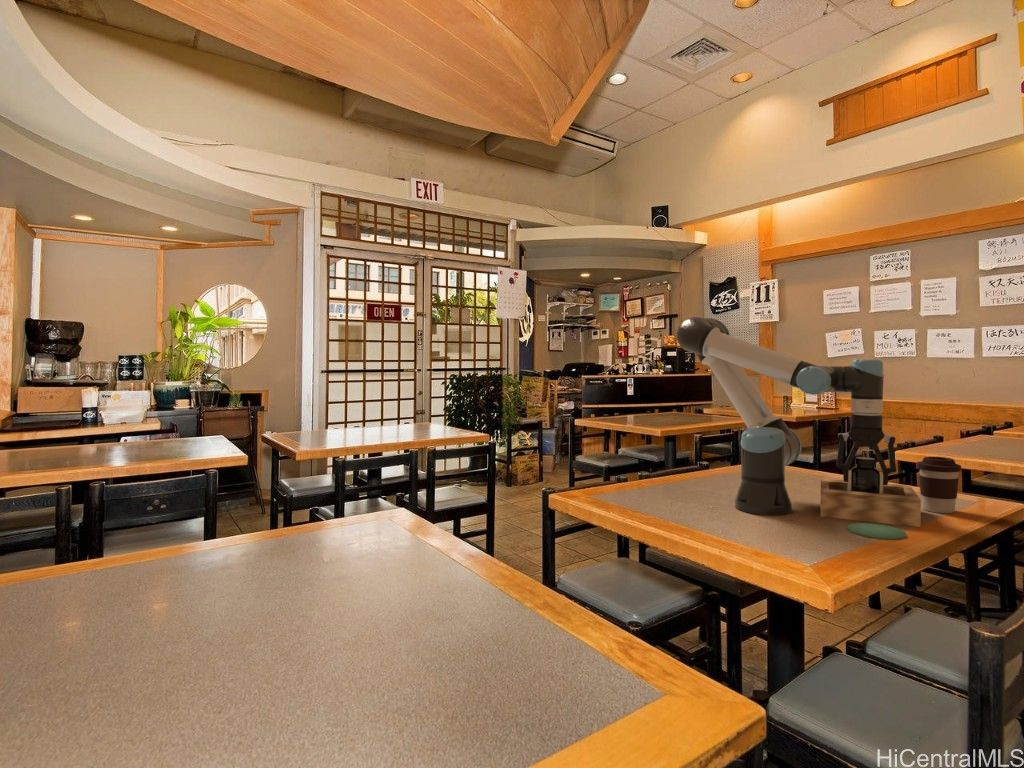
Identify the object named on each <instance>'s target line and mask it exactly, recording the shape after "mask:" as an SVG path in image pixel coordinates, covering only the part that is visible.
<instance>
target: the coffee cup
mask: <svg viewBox="0 0 1024 768" xmlns="http://www.w3.org/2000/svg"><path fill="white" fill-rule="evenodd" d="M916 468H917V469H919V475H918V476H919V478H918V479H919V480H918V481H919V490H920V491H919V492H920V495H921V507H922V509H923V510H925V511H928V512H931V513H937V514H952V513H955V511H956V501H957V498H958V489H959V480H960V479H959V472H962V465H960V464H958V463H956V461H955V459H954V458H949V457H943V456H924V457H923V458H922V460H920V461H917V462H916Z"/></svg>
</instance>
